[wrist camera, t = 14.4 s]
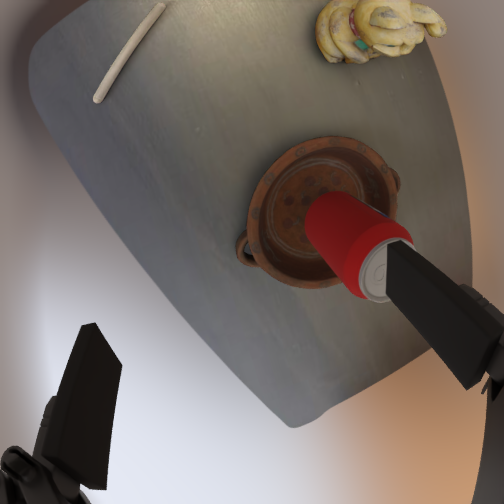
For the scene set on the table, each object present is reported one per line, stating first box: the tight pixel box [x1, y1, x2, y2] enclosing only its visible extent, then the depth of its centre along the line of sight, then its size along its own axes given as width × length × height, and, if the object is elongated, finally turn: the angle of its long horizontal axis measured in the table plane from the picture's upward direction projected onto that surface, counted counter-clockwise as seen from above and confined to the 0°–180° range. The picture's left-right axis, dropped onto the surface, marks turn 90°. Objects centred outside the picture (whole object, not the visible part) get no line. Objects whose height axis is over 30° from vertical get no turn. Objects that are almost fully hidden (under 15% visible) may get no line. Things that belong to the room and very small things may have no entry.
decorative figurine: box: [315, 0, 447, 64], centre depth 21 cm, size 10×8×15 cm
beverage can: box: [305, 191, 417, 303], centre depth 26 cm, size 7×7×12 cm
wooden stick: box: [93, 2, 166, 103], centre depth 25 cm, size 1×13×1 cm, turn 147°
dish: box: [236, 136, 400, 289], centre depth 34 cm, size 18×22×5 cm
